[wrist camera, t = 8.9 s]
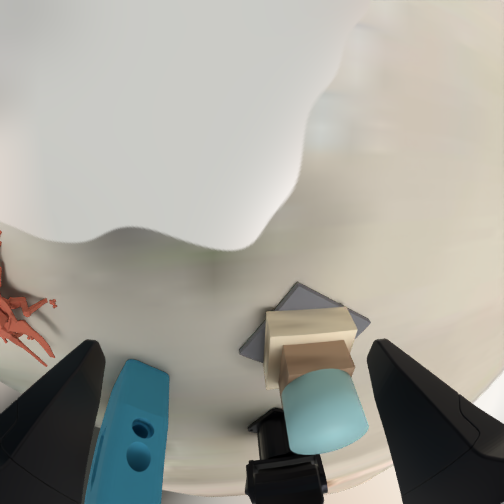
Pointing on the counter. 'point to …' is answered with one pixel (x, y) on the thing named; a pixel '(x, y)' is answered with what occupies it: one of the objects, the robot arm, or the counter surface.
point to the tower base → (302, 334)
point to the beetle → (21, 322)
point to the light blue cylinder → (322, 412)
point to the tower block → (313, 360)
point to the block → (132, 439)
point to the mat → (297, 300)
